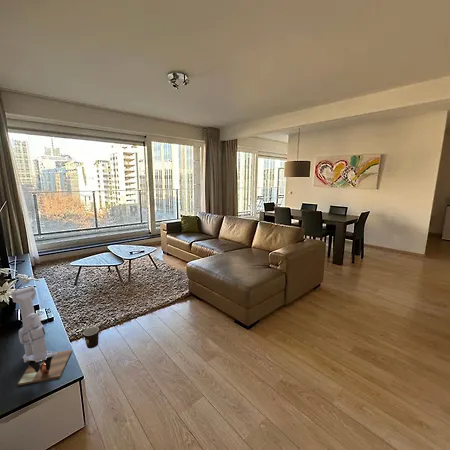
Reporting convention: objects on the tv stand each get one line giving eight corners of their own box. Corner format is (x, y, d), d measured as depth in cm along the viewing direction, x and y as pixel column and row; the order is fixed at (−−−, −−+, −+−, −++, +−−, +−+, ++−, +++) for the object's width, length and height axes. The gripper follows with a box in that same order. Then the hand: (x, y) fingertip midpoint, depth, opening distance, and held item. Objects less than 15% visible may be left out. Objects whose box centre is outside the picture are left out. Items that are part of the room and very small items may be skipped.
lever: (35, 363, 138) (34, 355, 137) (50, 356, 143) (48, 348, 142) (42, 376, 130) (40, 367, 129) (57, 368, 135) (56, 360, 134)
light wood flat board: (35, 357, 144) (34, 350, 143) (72, 351, 149) (71, 344, 148) (17, 385, 125) (16, 378, 124) (60, 378, 130) (58, 370, 129)
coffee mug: (102, 345, 155) (100, 331, 153) (87, 351, 149) (85, 337, 147) (96, 336, 163) (94, 323, 161) (81, 342, 157) (80, 328, 155)
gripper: (18, 356, 123) (23, 379, 125) (52, 350, 126) (55, 373, 129) (25, 346, 129) (30, 368, 132) (57, 341, 133) (60, 363, 136)
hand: (43, 370), depth 131 cm, fingers open, 4 cm apart
